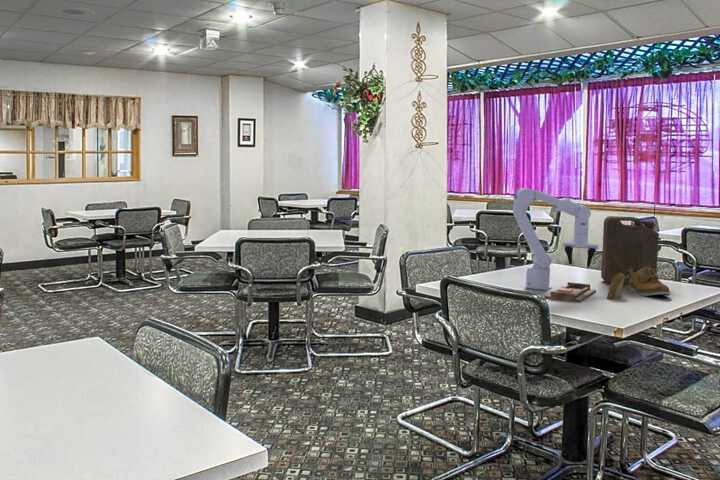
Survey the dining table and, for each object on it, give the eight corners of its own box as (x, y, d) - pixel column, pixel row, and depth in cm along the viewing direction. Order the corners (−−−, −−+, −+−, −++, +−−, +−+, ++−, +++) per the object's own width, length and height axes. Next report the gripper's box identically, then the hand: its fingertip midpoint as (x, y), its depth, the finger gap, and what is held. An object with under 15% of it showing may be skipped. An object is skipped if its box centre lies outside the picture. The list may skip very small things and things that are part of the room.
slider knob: (557, 295, 264) (557, 289, 264) (560, 293, 267) (560, 287, 267) (569, 297, 261) (570, 290, 261) (572, 295, 264) (572, 289, 264)
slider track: (544, 298, 265) (544, 290, 264) (562, 288, 287) (562, 281, 286) (580, 302, 257) (580, 294, 257) (595, 291, 279) (596, 284, 279)
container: (604, 284, 298) (607, 217, 295) (599, 280, 308) (602, 215, 305) (657, 285, 295) (661, 218, 291) (650, 281, 305) (654, 216, 301)
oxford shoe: (619, 287, 292) (621, 261, 291) (642, 287, 292) (644, 262, 291) (650, 300, 264) (652, 271, 263) (675, 300, 265) (677, 272, 263)
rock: (615, 295, 261) (634, 290, 265) (604, 276, 264) (623, 271, 268) (600, 306, 269) (618, 301, 273) (589, 288, 273) (607, 283, 277)
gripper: (561, 233, 284) (559, 264, 285) (596, 235, 276) (594, 267, 277) (565, 231, 290) (564, 262, 291) (600, 233, 282) (598, 265, 283)
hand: (579, 264), depth 285 cm, fingers open, 7 cm apart
